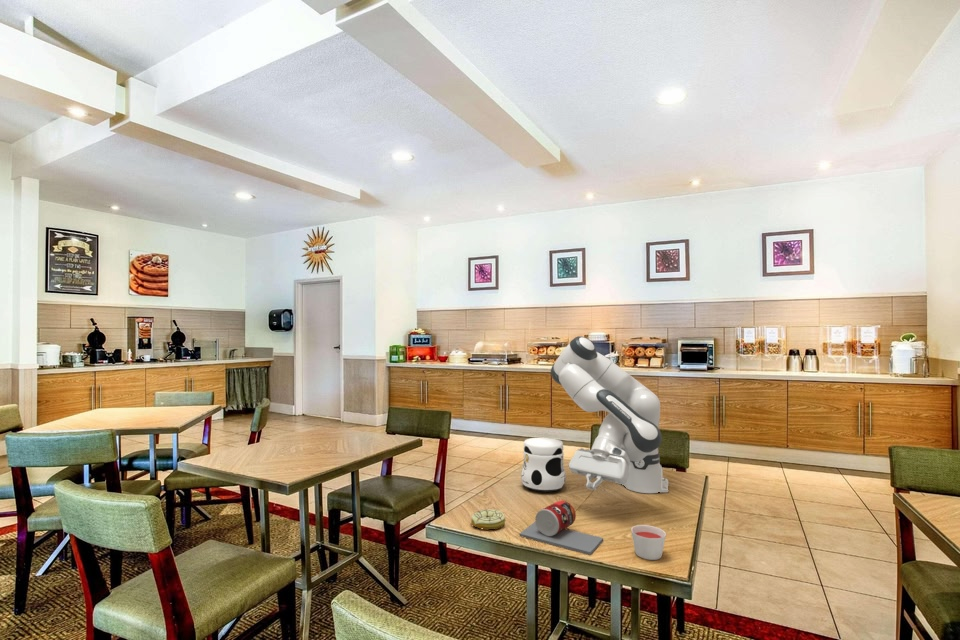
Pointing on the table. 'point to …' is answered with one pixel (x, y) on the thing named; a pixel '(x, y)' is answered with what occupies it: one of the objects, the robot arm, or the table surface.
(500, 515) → the decorated donut
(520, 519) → the table surface
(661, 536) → the candle
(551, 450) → the milk container
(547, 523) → the canned food
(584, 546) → the mat
